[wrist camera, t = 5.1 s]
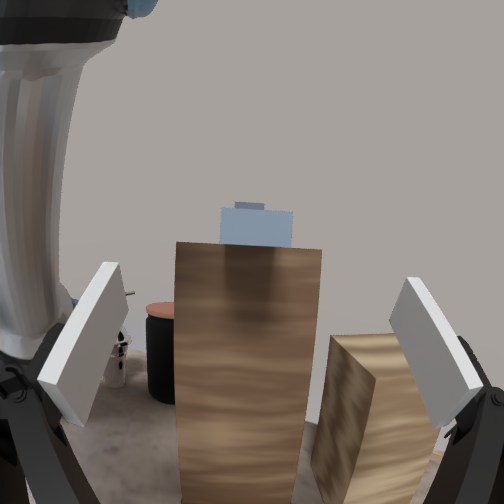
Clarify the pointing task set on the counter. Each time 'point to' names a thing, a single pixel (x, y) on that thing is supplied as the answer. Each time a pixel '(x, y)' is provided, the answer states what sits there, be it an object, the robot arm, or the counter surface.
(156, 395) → the coffee jar
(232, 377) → the walnut box
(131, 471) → the counter surface
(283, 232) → the lid
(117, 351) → the cup with straw
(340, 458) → the oak block
